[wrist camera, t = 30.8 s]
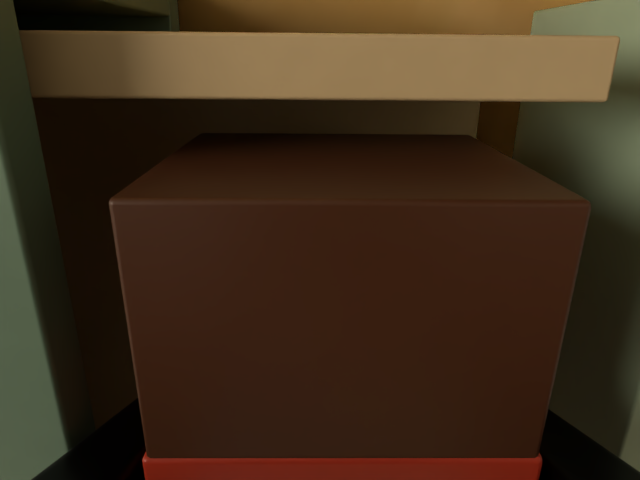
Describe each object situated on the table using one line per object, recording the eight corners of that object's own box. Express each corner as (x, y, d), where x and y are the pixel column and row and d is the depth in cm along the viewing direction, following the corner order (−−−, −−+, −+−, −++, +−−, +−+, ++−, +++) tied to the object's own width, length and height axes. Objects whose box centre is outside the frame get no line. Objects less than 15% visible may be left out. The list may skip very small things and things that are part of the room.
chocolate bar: (473, 133, 8) (603, 202, 5) (427, 519, 12) (482, 747, 8) (196, 132, 8) (98, 199, 5) (227, 520, 12) (185, 750, 8)
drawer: (793, 13, 12) (1284, -25, 6) (651, 456, 16) (839, 683, 11) (-43, 5, 11) (-425, -43, 5) (61, 457, 16) (-83, 690, 10)
